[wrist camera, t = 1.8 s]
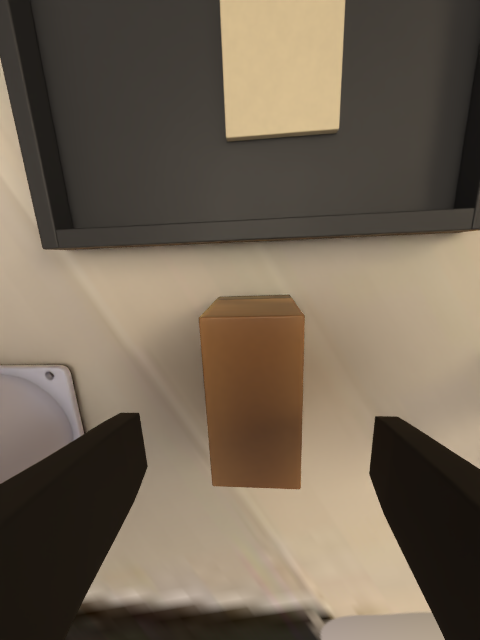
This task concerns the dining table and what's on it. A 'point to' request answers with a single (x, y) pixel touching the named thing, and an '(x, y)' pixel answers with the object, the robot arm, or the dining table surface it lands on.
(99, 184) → the tray
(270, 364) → the eraser
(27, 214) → the dining table surface
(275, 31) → the paper scrap
